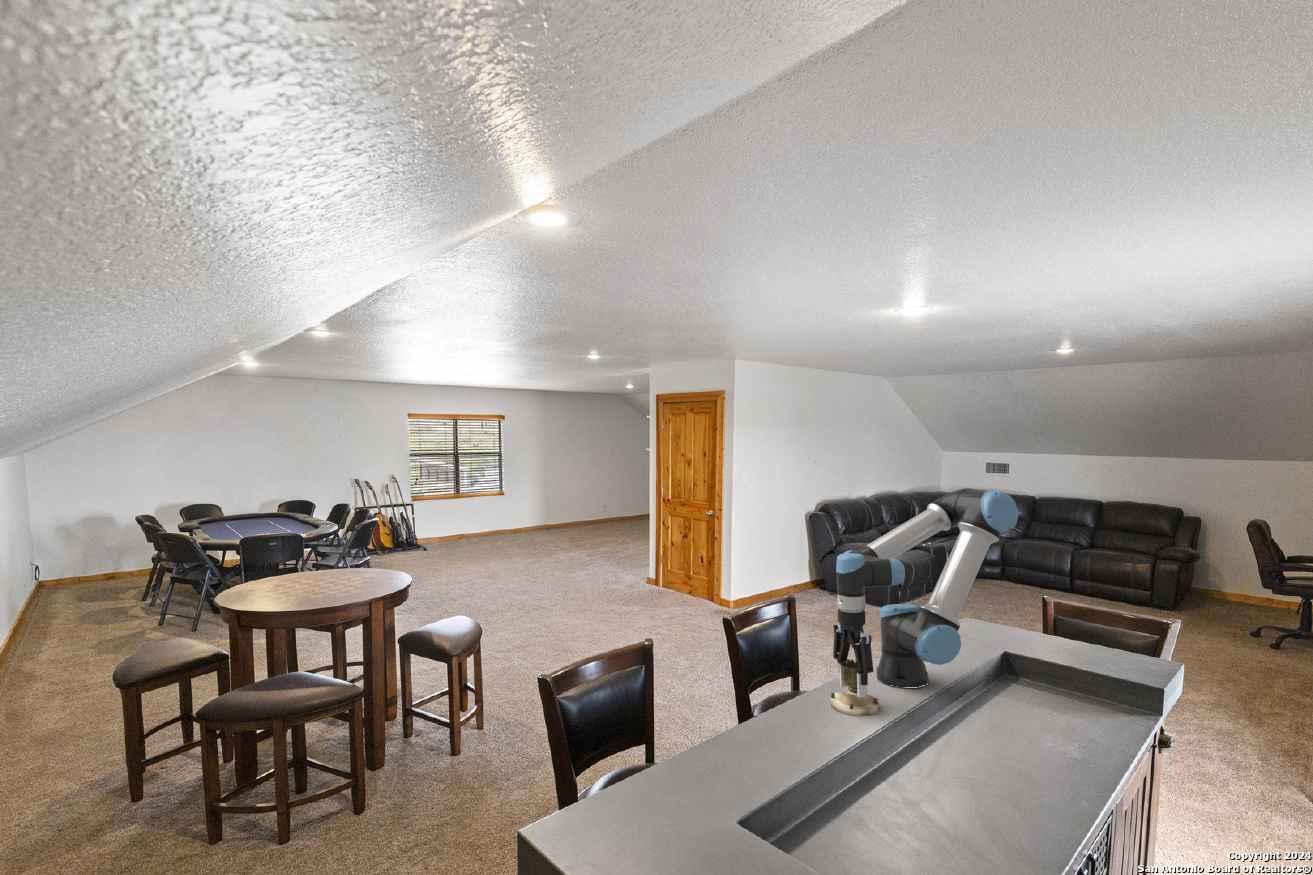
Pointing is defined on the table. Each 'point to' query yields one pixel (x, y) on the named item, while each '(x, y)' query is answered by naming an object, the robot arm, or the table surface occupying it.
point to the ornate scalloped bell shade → (850, 674)
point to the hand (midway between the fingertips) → (853, 690)
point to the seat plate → (853, 703)
